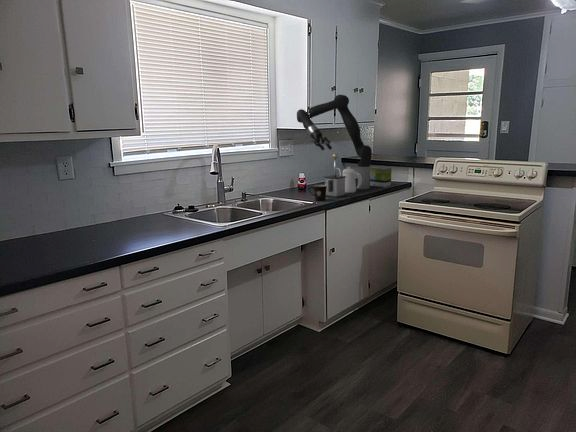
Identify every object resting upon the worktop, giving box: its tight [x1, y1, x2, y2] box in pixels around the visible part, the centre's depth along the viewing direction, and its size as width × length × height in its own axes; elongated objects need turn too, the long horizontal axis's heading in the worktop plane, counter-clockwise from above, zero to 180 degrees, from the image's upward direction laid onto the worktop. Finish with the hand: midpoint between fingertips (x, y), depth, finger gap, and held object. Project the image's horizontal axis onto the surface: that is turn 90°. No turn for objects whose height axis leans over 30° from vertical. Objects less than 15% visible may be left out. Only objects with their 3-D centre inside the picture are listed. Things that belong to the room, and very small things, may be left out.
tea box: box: [370, 166, 393, 188], centre depth 351 cm, size 15×10×15 cm
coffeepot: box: [336, 166, 362, 194], centre depth 324 cm, size 11×25×19 cm, turn 42°
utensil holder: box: [323, 174, 346, 199], centre depth 307 cm, size 12×11×14 cm
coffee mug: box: [308, 184, 327, 202], centre depth 294 cm, size 12×9×10 cm
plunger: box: [332, 153, 339, 177], centre depth 304 cm, size 8×8×20 cm
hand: (327, 149), depth 306 cm, fingers open, 8 cm apart
